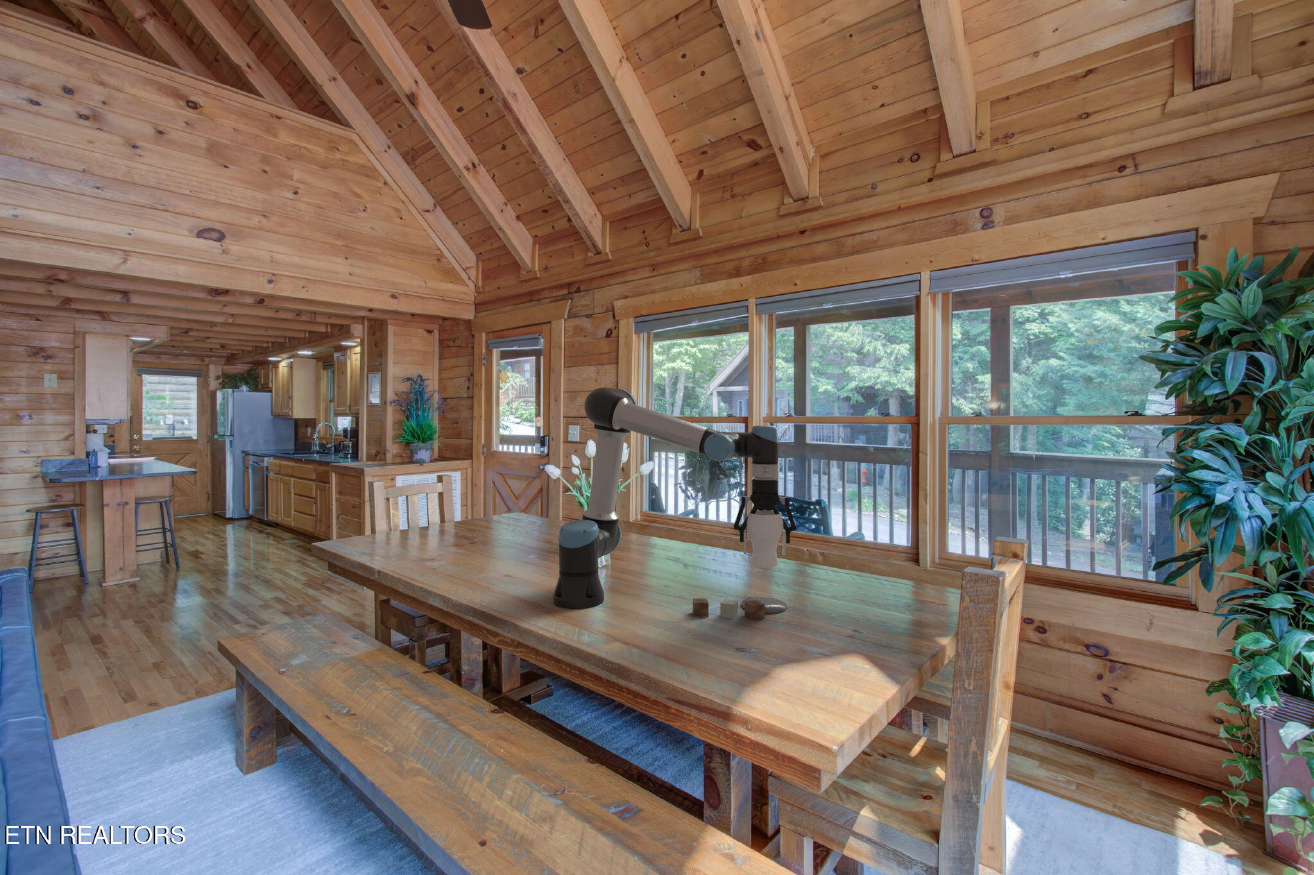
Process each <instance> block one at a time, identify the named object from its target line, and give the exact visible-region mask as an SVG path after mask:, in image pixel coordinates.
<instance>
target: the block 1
mask: <svg viewBox="0 0 1314 875" xmlns="http://www.w3.org/2000/svg"><path fill="white" fill-rule="evenodd" d="M709 610H710V609H709V600H708V598H706V597H705V598H704V597H703V598H700V597H698V598H695V597H694V598H692V615H693V618H694V617H695V618H699V617H700V618H703V617H704V618H708V617H709V615H710V614H709Z"/></svg>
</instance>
